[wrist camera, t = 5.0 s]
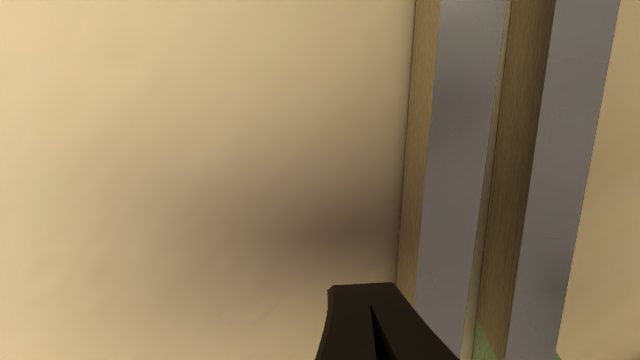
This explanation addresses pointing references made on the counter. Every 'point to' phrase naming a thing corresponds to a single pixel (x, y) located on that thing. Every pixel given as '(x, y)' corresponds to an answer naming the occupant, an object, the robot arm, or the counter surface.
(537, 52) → the tongs base
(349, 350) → the robot arm
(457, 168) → the bar
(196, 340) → the counter surface
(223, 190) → the counter surface
